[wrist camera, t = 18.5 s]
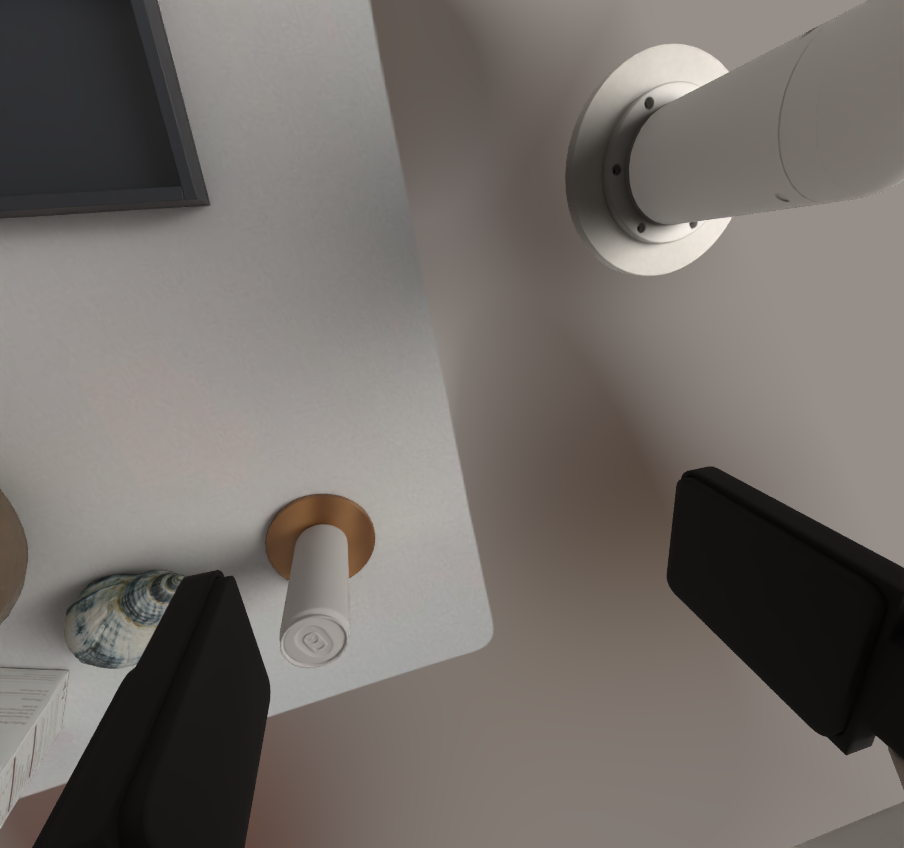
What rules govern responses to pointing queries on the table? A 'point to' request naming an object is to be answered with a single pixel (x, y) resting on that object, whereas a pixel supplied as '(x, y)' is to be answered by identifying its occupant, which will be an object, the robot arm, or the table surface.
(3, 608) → the bowl
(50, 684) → the white packaging box
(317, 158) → the table surface
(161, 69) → the tray
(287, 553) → the copper pad
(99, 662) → the seashell
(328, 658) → the beverage can
